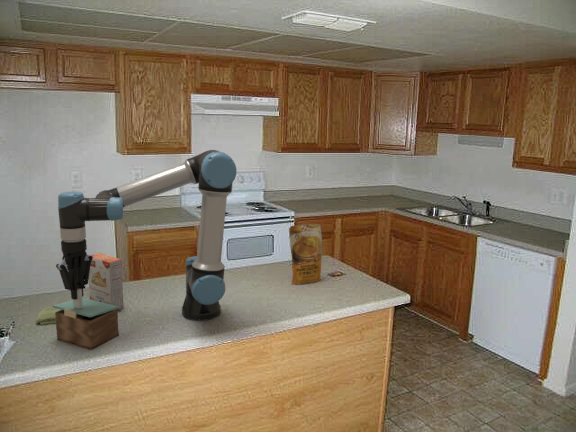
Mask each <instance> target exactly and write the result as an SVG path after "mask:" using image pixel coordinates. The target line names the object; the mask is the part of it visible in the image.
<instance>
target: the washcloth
mask: <svg viewBox="0 0 576 432" xmlns="http://www.w3.org/2000/svg"><path fill="white" fill-rule="evenodd" d="M60 310H61V309H57V308H53V306H48V307H45V308H43V309H42V310H41V311H40V312H39V314H37V315H38V316H37V318H36V319H35V323H36V324H37V323H38V324H40V326H49V325H56V317H55V312H57V311H60ZM48 324H49V325H48Z"/></svg>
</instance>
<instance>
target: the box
mask: <svg viewBox="0 0 576 432" xmlns="http://www.w3.org/2000/svg"><path fill="white" fill-rule="evenodd" d="M121 311H122V309H115V310H112V311H109V312H106V313H103V314H99V315H96V316H93V317H87V316H83V315H81V316H82V317H83V318H84V319H83V318H79V317H76V318H72V317H69V316H65V315H64V310H60V311H57V312H55V317H56V324H55V327H56V329H55V330H56V340H57V341H59V342H64V343H67V344H71V345H74V346H76V347H80V348H83V349H86V350H90V351H93V350H95V349H97V348H99V347H101V346H102V345H104V344H106V343H108V342H109V341H112V340H113V339H115V338H117V337H119V318H118V317H119V316H118V315H119V314H118V312H119V313H120V312H121ZM78 315H79V314H78Z"/></svg>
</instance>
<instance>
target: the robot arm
mask: <svg viewBox="0 0 576 432" xmlns="http://www.w3.org/2000/svg"><path fill="white" fill-rule="evenodd" d="M236 177H237V166H236V163H235V161H234V160H233V158H232V157H231V156H229V154H227V153H225V152H222V151H220V150H215V149H210V150H206V151H203V152H201V153H198V154H197V155H195V156H193V157H190V158H187V159H185V160H184V161H183V163H181V164H179V165H176V166H173V167H169V168H167V169H164V170H162V171H158V172H156V173H154V174H150V175H147V176H145V177H141V178H139V179H136V180H133V181H130V182H128V183H124V184H122V185H119V186H117V187H114V188H111V189H104V190H101V191H100V192H98V194H96V196H95V197H91V198H90V197H85V196H84V193H83V192H81V191H64V192H61V193H59V194H58V196H57V204H58V205H57V206H58V207H57V208H58V209H57V210H58V218H59V219H58V221H59V233H60V240H61V241H60V245H61V249H60V250H61V253H62V258H61V261H60V262H59V263H56V265H55V267H56V269H57V270H58V271H59V273H60V274H59V275H60V278H61V280H62V283H63V287H64V289H65V290H67V291H70V295H71V296H70V298H71V300H73V307H75V308H79V309H80V308H82V307H83V303H82V298H84V290H85V288H86V285H89V272H90V265H91V261H92V259H93V256H90V255H91V254H87V252H86V251H87V239H86V237H87V233H86V230H87V229H86V222H96V221H97V222H101V221H107V222H108V221H110V222H112V221H119V220H123V219H124V208H126V207H128V206H131V205H134V204H136V203H139V202H142V201H145V200H147V199H150V198H153V197H156V196H158V195H161V194H164V193H167V192H169V191H173V190H175V189H178V188H181V187H183V186H186V185H189V184H193V185H196V184H198V186H197V187H198V191H199V192H200V193H201V207H200V218H199V219H200V220H199V230H198V241H197V242H198V243H197V254H196V255H195V256H189V257H187V258H185V259H186V260H185V265H184V266H185V298H184V301H183V303H182V307H181V315H182V317H183V318H185V319H187V320H190V321H207V320H211V319H215V318H217V317H219V315H220V314H221V311H222V309H221V304H220V300H221V299H223V297H224V295H225V293H226V283H225V281H224V276H225V267H226V266H225V264H224V263H223V262H222V253H223V252H222V251H223V242H224V234H225V233H224V232H225V220H226V209H227V199H228V196H229V195H230V194H231V193H232V190H233V183H234V181H235V179H236Z"/></svg>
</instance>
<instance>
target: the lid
mask: <svg viewBox="0 0 576 432" xmlns="http://www.w3.org/2000/svg"><path fill="white" fill-rule="evenodd" d="M82 303H83V307H82V308H80V309H79V308H75V307H73V299H71V300H67V301H64V302H61V303H57V304H53V305H52V307H53V308H57V309H61V310H64V315H65V316H69V317H72V318H76V314H79V315H83V316H87V317H93V316H96V315H99V314H103V313H106V312H109V311H112V310H115V309H119V306H115V305H111V304H106V303H102V302H98V301H94V300H90V298H86V297H82Z"/></svg>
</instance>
